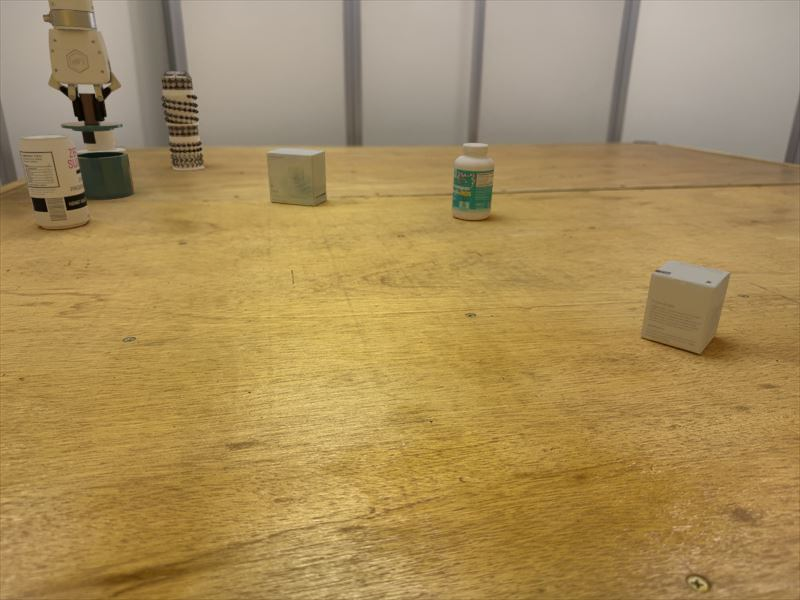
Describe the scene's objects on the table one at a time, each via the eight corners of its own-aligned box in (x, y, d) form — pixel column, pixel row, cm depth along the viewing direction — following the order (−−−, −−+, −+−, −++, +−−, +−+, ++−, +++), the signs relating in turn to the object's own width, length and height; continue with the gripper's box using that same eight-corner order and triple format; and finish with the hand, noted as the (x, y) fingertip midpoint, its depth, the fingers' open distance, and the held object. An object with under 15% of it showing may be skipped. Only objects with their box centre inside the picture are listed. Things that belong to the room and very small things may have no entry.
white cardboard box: (716, 336, 59) (733, 271, 56) (699, 356, 55) (717, 286, 52) (657, 320, 62) (670, 258, 60) (637, 337, 58) (651, 271, 55)
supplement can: (31, 223, 97) (9, 135, 92) (82, 216, 103) (64, 132, 97) (44, 232, 92) (21, 140, 86) (97, 224, 97) (79, 136, 92)
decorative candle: (198, 164, 160) (186, 71, 150) (211, 168, 153) (199, 71, 144) (166, 167, 154) (151, 71, 145) (178, 171, 148) (164, 71, 138)
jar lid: (54, 132, 109) (46, 93, 106) (70, 127, 119) (63, 91, 116) (117, 132, 112) (111, 94, 109) (127, 127, 122) (122, 92, 119)
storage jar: (75, 200, 115) (66, 158, 111) (87, 190, 124) (79, 152, 121) (129, 198, 117) (122, 157, 114) (137, 188, 126) (131, 151, 123)
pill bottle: (444, 214, 108) (447, 142, 102) (475, 210, 111) (480, 141, 106) (465, 223, 101) (470, 147, 96) (498, 219, 105) (504, 145, 99)
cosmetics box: (269, 202, 115) (265, 151, 111) (284, 196, 121) (281, 147, 117) (314, 206, 112) (311, 154, 108) (328, 200, 118) (326, 150, 114)
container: (81, 184, 130) (69, 127, 125) (105, 179, 137) (94, 124, 132) (109, 186, 128) (98, 128, 123) (132, 180, 135) (122, 125, 130)
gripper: (20, 18, 102) (41, 122, 109) (116, 23, 106) (131, 122, 113) (33, 21, 109) (53, 119, 116) (123, 26, 113) (137, 119, 120)
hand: (91, 120), depth 114 cm, fingers closed on jar lid, 3 cm apart
